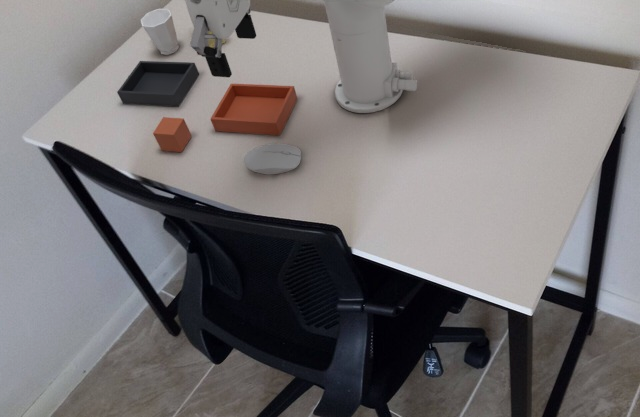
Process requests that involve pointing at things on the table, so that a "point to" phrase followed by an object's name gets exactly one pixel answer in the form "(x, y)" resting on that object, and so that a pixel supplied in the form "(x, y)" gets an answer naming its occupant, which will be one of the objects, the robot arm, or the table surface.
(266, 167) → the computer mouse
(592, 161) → the table surface
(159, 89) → the charcoal bin
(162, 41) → the cup
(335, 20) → the robot arm
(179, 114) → the table surface
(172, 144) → the terracotta block
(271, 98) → the terracotta bin
